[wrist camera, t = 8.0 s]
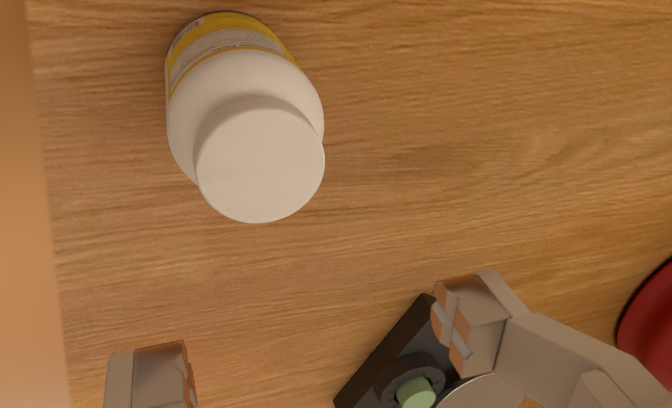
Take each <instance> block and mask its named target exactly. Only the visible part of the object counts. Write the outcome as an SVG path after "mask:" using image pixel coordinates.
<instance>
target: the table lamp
mask: <svg viewBox="0 0 672 408" xmlns="http://www.w3.org/2000/svg"><path fill="white" fill-rule="evenodd" d="M617 346H618V349H619V350H621V351H623V352H626V353H628V354H630V355H632V356H634V357H635V358H636V359H637V360H638V361H639V362H640V363H641V364H642V365H643V366H644V367H645V368H646V369H647V370H648V371H649V372H650V373H651V374H652V375H653V376H654V377H655V378H656V379H657V380H658V381H659V382H660V383H661V384H662V385H663V386H664V387H665V388H666V389H667V391H671V392H672V261H671V262H669V263H668V264H667V265H665V266H664V267H663V268H662V269H660V270H659V271H658V272H657V273H656V274H655V275H654V276H653V277H652V278H651V279H649V280H648V282H647V283H646V284H645V285H644V286H643V287H642V289H641V290H640V291H639V292H638V293H637V295H636V296H635V298H634V299H633V301H632V302H631V304H630V305H629V307H628V308H627V310H626V312H625V314H624V316H623V318H622V320H621V322H620V325H619V328H618V331H617Z"/></svg>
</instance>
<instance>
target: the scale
mask: <svg viewBox="0 0 672 408" xmlns="http://www.w3.org/2000/svg"><path fill="white" fill-rule="evenodd" d="M436 300H437V299H436V298H434V297H431V296H428V295H425V294H421V296H420V297H419V298H418V299H417V300H416V302H415V303H414V304H413V305H412V306H411V308H410V309H409V310H408V311H407V312H406V314H405V315H404V316H403V317H402V318H401V320H400V321H399V322H398V323H397V324H396V326H395V327H394V328H393V329H392V330H391V332H390V333H389V334H388V335H387V336H386V338H385V339H384V340H383V341H382V342H381V344H380V345H379V346H378V347H377V348H376V350H375V351H374V352H373V353H372V354H371V356H370V357H369V358H368V359H367V360H366V362H365V363H364V364H363V365H362V366H361V368H360V369H359V370H358V371H357V372H356V374H355V375H354V376H353V377H352V378H351V379H350V381H349V382H348V383H347V384H346V385H345V387H344V388H343V389H342V390H341V391H340V393H339V394H338V395H337V396H336V397H335V399H334V400H333V403H334V406H335V408H401V406H400V403H399V401H398V399H397V397H396V390H397V389H398V388H399V387H400V386H401V384H403V383H405V382H407V381H408V380H410V379H413V378H417V377H424V378H426V379H427V380H428V382H429V384H430V386H431V387H432V389H433V391H434V393H435V396H436V398H437V397H438V396H439V395H440V394H441V393H442V392H443V391H445V390H446V389H447V388H448V387H449V386H451V385H452V384H454V383H455V382H457V381H458V380H460V379H461V377H460V375H459V374H458V372H457V371H456V369H455V367H454V366H453V364H452V362H451V361H450V359H449V351H450V348H448V347H446V346H444V345H443V344H441V343H440V342H439V340H438V339H437V337H436V335H435V333H434V330H433V328H432V323H431V318H430V313H431V306H432V305H433V303H434V302H435V301H436ZM435 400H436V399H435Z"/></svg>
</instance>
